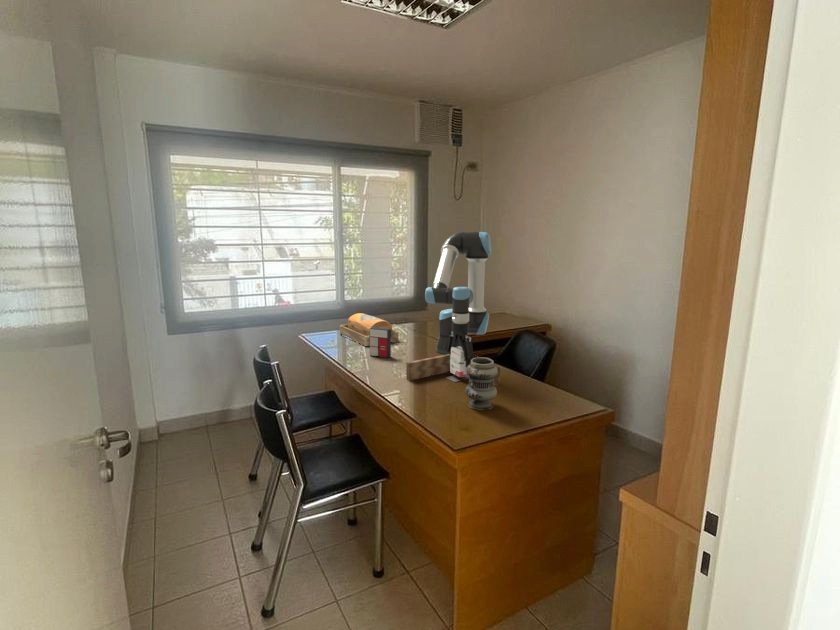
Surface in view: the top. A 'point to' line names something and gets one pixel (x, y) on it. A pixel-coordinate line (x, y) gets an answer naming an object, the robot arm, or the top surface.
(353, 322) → the orange rounded block
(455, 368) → the ink box
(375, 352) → the grey and red box
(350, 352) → the top surface
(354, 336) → the crate
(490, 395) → the apothecary jar
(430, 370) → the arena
